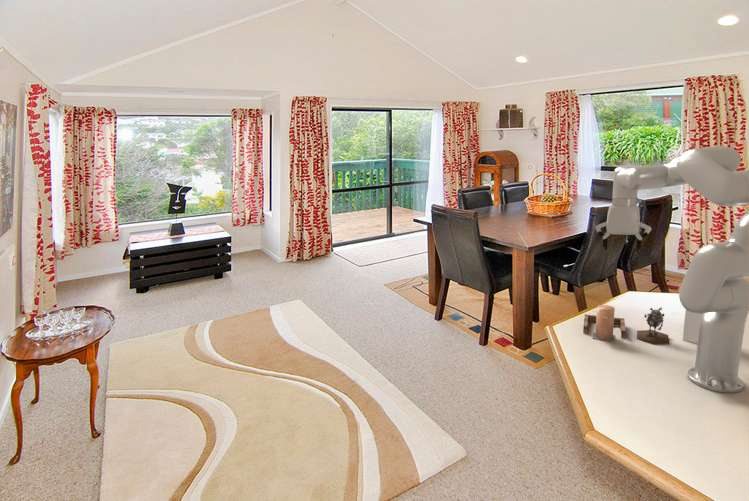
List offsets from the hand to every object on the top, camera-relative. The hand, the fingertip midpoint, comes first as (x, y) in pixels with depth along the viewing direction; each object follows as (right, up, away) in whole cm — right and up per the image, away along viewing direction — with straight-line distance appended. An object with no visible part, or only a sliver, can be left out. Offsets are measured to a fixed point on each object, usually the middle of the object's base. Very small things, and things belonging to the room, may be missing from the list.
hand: (621, 249), depth 153 cm
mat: (-6, -32, 0) cm, 32 cm away
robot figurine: (+9, -31, -2) cm, 33 cm away
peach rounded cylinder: (-6, -31, -1) cm, 32 cm away
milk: (+22, -31, -6) cm, 39 cm away
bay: (-3, -30, +6) cm, 31 cm away
